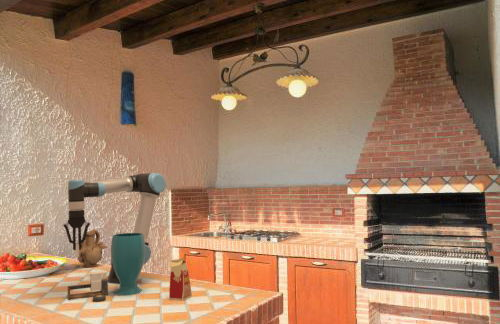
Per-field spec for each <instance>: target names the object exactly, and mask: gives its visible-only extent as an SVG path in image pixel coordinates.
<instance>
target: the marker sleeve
mask: <svg viewBox="0 0 500 324" xmlns="http://www.w3.org/2000/svg"><path fill="white" fill-rule="evenodd" d="M89 275H90V277H89V284H91V288H89V290H90V292H95V291H100V290H101V280H102V272H101V271H97V272H90V273H89Z"/></svg>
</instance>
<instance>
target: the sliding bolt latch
mask: <svg viewBox="0 0 500 324" xmlns="http://www.w3.org/2000/svg"><path fill="white" fill-rule="evenodd" d="M90 288H91V284H90V283H85V284H77V285H69V286H67V295H66V296H67V300H68V301H70V300H79V299H86V298H87V299H88V298H93V296H95V295H106V296H109V282H108V278H103V279H102V278H101V290H95V291H88V292H79V293H71V291H73V290H81V289H90Z"/></svg>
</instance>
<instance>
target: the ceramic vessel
mask: <svg viewBox="0 0 500 324" xmlns="http://www.w3.org/2000/svg"><path fill="white" fill-rule="evenodd" d="M100 237H101V234H100V232H99V231H98V230H97V229H94V228H93V229H90V230H89V231H87V234H86V238H85V241H84V242H82V243H81V250H79V257H77V260H78V262H79V263H80V264H83V265H82V267H83V268H96V267H97V266H98V265H97V264H98V263H99V262H101V260H102V257H103V250H104V249H106V248H108V246H107V245H105V244H104V243H103V241H100Z"/></svg>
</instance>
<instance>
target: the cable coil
mask: <svg viewBox="0 0 500 324" xmlns="http://www.w3.org/2000/svg"><path fill="white" fill-rule="evenodd" d="M106 300H107V295H95V296H93V297H92V302H95V303H101V302H106Z"/></svg>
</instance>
